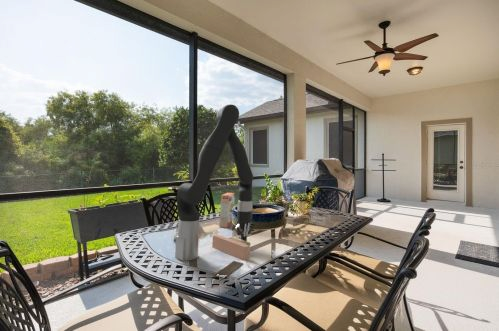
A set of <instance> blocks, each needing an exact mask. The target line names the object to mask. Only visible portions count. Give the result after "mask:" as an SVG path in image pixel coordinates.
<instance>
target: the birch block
mask: <svg viewBox="0 0 499 331" xmlns="http://www.w3.org/2000/svg"><path fill="white" fill-rule="evenodd" d="M228 238H229V239H232V240H235V241H237V242H240V243H243V244H246V245H249V254H250V253H251V242H250V241H248V240H247V241H244V240H241V238H238V237H235V236H231V237H228Z"/></svg>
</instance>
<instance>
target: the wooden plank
mask: <svg viewBox="0 0 499 331" xmlns="http://www.w3.org/2000/svg"><path fill="white" fill-rule="evenodd" d="M243 265H244V263H243V262H240V261H236V260H232V261H231V262H230V263H228V265H225V266H224V267H222V269H219V270H218V271H217V272H215V273H214V274H213V276H214V275H217V274H219V275H229V274H230V275H232V274H233V273H234V272H235V271H237V270H238V269H239V268H241V266H243ZM233 271H234V272H233ZM232 272H233V273H232ZM230 275H229V276H230Z"/></svg>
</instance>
